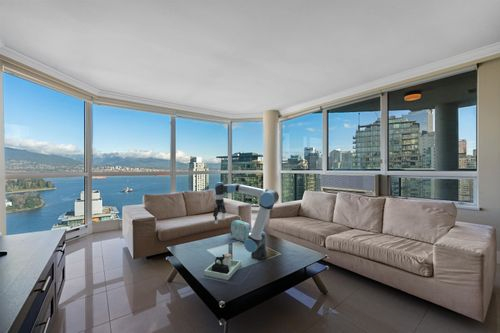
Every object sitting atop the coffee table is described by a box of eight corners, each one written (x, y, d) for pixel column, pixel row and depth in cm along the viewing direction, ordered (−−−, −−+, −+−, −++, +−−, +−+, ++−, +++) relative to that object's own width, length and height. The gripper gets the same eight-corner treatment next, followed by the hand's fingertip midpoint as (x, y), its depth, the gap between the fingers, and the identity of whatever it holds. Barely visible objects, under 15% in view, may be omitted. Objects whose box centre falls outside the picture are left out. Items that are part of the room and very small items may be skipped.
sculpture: (224, 277, 155) (224, 257, 155) (210, 273, 161) (209, 254, 161) (230, 272, 162) (229, 253, 162) (216, 269, 168) (215, 250, 168)
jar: (233, 264, 175) (232, 254, 175) (229, 268, 169) (229, 257, 169) (226, 263, 177) (226, 253, 177) (222, 267, 171) (222, 256, 171)
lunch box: (229, 237, 244) (228, 219, 244) (235, 235, 251) (235, 217, 251) (244, 243, 225) (244, 223, 225) (251, 241, 232) (251, 221, 232)
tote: (241, 266, 174) (241, 260, 174) (227, 281, 152) (227, 275, 152) (220, 262, 181) (220, 257, 181) (204, 276, 159) (204, 270, 159)
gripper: (222, 196, 208) (222, 218, 208) (208, 200, 185) (209, 225, 185) (229, 197, 205) (229, 218, 205) (216, 201, 182) (216, 225, 182)
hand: (219, 221), depth 195 cm, fingers open, 13 cm apart
